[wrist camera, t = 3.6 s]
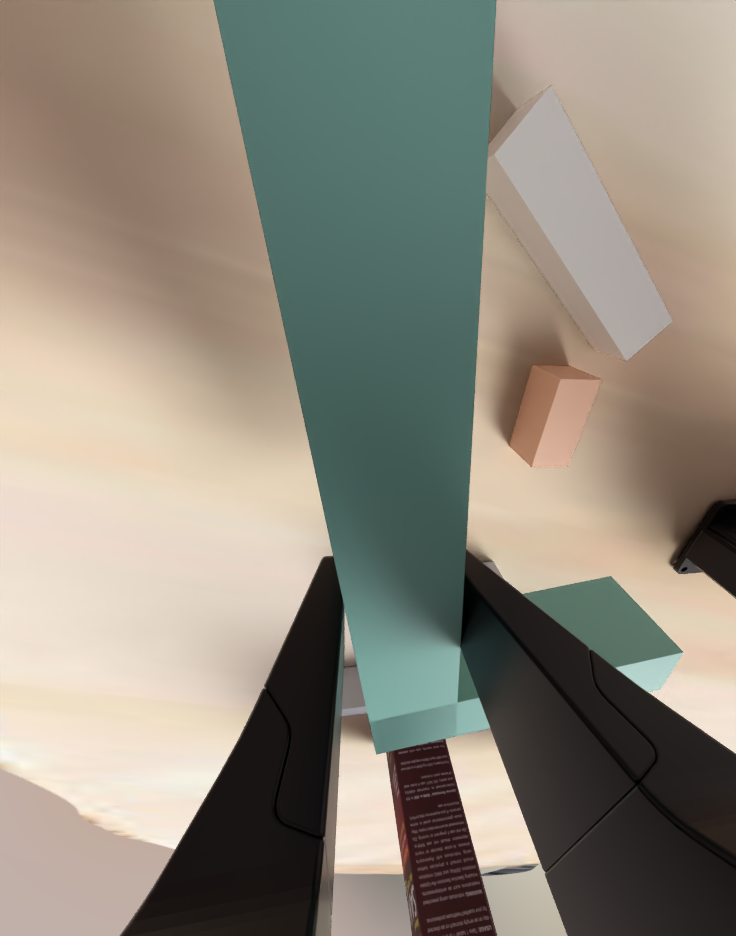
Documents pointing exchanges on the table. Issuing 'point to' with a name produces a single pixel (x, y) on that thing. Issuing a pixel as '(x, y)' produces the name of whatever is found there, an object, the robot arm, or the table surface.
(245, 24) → the crook
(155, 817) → the table surface
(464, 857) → the supplement box
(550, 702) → the robot arm
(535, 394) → the offcut
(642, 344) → the stick
